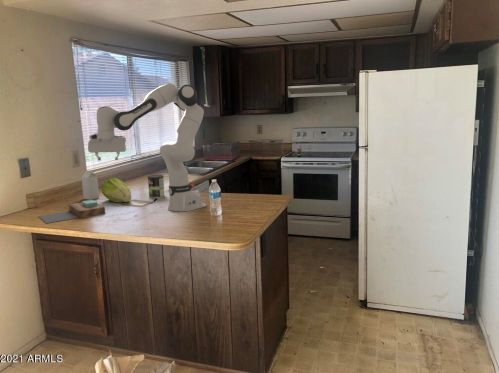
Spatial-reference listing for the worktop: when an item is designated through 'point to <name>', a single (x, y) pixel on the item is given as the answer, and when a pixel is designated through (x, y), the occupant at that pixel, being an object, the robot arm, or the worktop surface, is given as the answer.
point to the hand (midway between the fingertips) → (108, 160)
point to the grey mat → (57, 217)
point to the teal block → (89, 203)
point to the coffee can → (156, 186)
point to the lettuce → (116, 190)
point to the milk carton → (90, 185)
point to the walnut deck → (86, 210)
